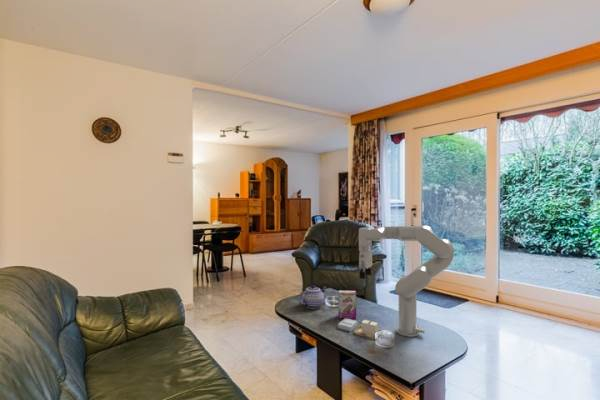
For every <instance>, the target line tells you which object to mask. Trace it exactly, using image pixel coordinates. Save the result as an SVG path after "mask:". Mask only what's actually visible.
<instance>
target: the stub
mask: <svg viewBox="0 0 600 400" xmlns="http://www.w3.org/2000/svg"><path fill="white" fill-rule="evenodd" d="M361 325H362V333H365V334H369V335H372V336H375V333H376V332H378V329H379V323H378V322H375V321H372V320H368V319H363V320H362V321H361Z"/></svg>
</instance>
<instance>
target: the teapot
mask: <svg viewBox="0 0 600 400" xmlns="http://www.w3.org/2000/svg"><path fill="white" fill-rule="evenodd" d="M326 290H327V286H323V287H322V289H321V288H320V287H318V286H316V285H315V284H311V286H308V287H306V288H305V290H304V291H301V292H300V293H299V295H298V299H297V300H298V303H299V305H301V306H304V307H306V308H307V309H311V310H317V309H320V308H321V306H323V304H324V302H325V301H324V300H325V295H326ZM301 300H302V301H301Z"/></svg>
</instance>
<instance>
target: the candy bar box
mask: <svg viewBox="0 0 600 400" xmlns="http://www.w3.org/2000/svg"><path fill="white" fill-rule="evenodd" d="M338 318H339V319H345V318H347V319H351V320H357V291H356V290H338Z"/></svg>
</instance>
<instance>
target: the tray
mask: <svg viewBox="0 0 600 400" xmlns="http://www.w3.org/2000/svg"><path fill="white" fill-rule="evenodd" d="M378 331H382V332H383V330H382V329H379V328H378ZM352 334H353V335H356V336H360V337H364V338H367V339H371V340H374V339H375V336H372V335H369V334H365V333H362V324H358V325H357V326H356V327H355V328H354V329H353V330H352Z"/></svg>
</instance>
